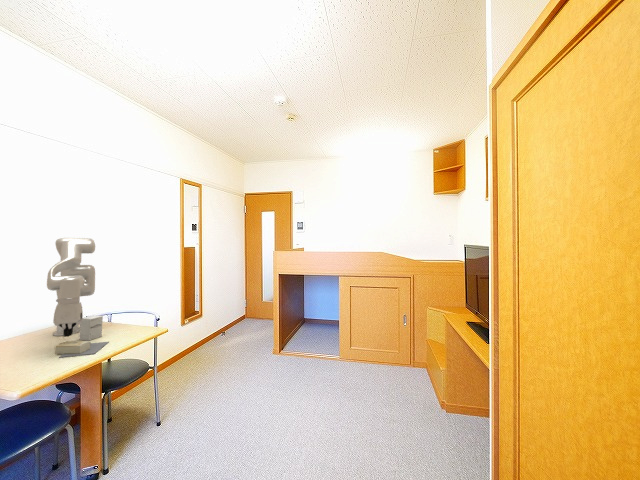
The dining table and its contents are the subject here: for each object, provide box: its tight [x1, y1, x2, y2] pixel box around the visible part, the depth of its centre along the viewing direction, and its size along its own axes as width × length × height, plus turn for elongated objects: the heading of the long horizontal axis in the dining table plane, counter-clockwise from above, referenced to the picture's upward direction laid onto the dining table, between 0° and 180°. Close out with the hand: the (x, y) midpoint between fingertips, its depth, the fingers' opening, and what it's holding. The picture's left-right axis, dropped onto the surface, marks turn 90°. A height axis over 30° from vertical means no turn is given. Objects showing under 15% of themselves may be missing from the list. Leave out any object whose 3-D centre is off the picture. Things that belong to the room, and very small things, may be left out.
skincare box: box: [54, 340, 92, 355], centre depth 126 cm, size 6×4×12 cm
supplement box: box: [78, 314, 103, 341], centre depth 146 cm, size 7×7×13 cm
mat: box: [58, 341, 110, 359], centre depth 130 cm, size 16×14×1 cm
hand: (68, 335), depth 127 cm, fingers closed
